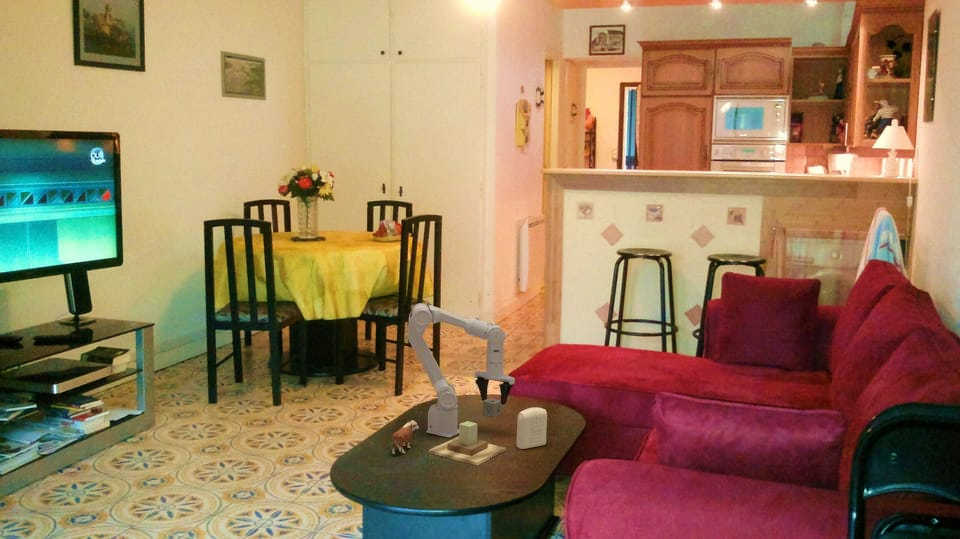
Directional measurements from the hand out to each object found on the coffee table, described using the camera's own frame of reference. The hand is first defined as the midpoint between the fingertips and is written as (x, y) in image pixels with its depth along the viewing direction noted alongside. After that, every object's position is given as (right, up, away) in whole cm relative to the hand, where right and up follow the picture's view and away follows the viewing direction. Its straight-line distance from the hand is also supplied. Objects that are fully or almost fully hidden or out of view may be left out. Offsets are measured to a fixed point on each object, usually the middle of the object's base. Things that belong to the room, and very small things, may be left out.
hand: (493, 401), depth 287 cm
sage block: (-8, -10, -19) cm, 23 cm away
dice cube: (0, -8, +21) cm, 23 cm away
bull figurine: (-28, -13, -17) cm, 35 cm away
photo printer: (+12, -13, -11) cm, 20 cm away
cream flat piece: (-8, -13, -18) cm, 24 cm away
